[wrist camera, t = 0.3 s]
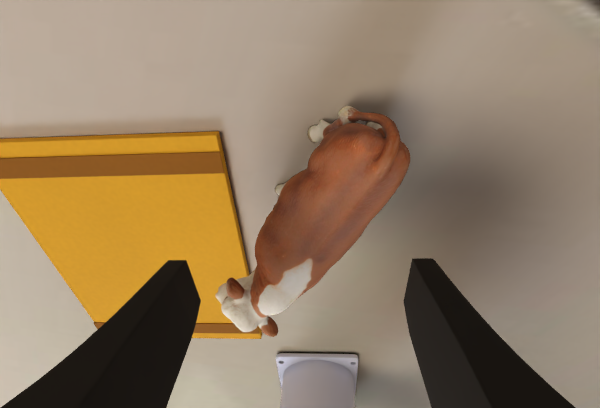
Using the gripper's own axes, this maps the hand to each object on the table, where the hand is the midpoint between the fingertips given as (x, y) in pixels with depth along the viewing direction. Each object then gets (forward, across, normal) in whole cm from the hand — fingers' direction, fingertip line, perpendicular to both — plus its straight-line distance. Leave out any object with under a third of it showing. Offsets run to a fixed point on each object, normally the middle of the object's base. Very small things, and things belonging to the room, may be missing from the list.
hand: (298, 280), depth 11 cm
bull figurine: (+10, 0, +2) cm, 11 cm away
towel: (+10, +12, +9) cm, 18 cm away
